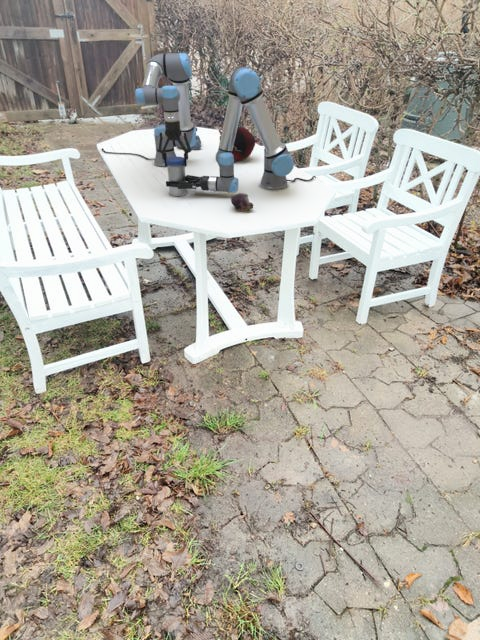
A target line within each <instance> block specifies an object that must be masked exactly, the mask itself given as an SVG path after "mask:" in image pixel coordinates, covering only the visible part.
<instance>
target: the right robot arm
mask: <svg viewBox="0 0 480 640" xmlns="http://www.w3.org/2000/svg"><path fill="white" fill-rule="evenodd" d="M227 92H228V93H227V95H228V101H227V106H226V110H225V115H224V118H223V119H224V120H223V125H222V130H221V132H222V134H220V136H221V139H220V138H219V144H218V149H217V152H216V153H215V161H216V163H217V165H218V167H219V176H216V175H202V176H197V175H190V174H185V176H186V182H178V181H177V182H173V181H169V180H166V181H165V187H168V188H169V187H178V189H187V190H197V188H201V189H200V190H202V191H204V192H205V191H207V192H208V191H210V192H214V193H216V192H223V193H236V192H237V191H238V190H239V183H240V182H239V178H238V177H236V176H235V161H234V156H233V154H232V150H233V145H234V141H235V137H236V132H237V128H238V127H239V123H240V120H241V119H240V118H241V114H242V110H243V107H246V109H247V111H248V114H249V116H250V117H251V118H250V119H251V120H252V123H253V125H254V127H255V129H256V131H257V134H258V136H259V138H260V140H261V142H262V143H261V144H262V145H263V147H264V149H263V151H264V152H263V155H264V156H263V158H264V159H263V173H262V177H261V179H260V187H261V188H263V189H265V190H270V191H277V190H283V189H286V188H288V182H291V183H294V182H295V181H296V180H300V181H304V182H310V181H312V180H313V179H317V176H316V175H313V176H312V177H311V178H310V179H305V178H302V177H301V178H300V177H295V178H293V180H292V179H287V176H288V175H289V174H291V172H292V171H293V169H294V167H295V162H294V159H293V157H292V156H291V155H290V152H289V150H288V148H287V143H283V142H282V141H281V139H280V136H279V134H278V132H277V128H276V127H275V125H274V122H273V120H272V117H271V115H270V113H269V110H268V107H267V106H266V103H265V101H264V99H263V95H264V91H263V88H262V85H261V80H260V77H259V76H258V74H257V72H256V71H255V70H253V69H251V68H249V67H248V66H244V65H243V66H238V67H236V68H235V69H234V70H233V71H232V73H231V74H230V79H229V86H228V91H227ZM312 235H313V236H314V235H315V232H313V233H312Z"/></svg>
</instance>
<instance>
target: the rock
mask: <svg viewBox="0 0 480 640" xmlns="http://www.w3.org/2000/svg"><path fill="white" fill-rule="evenodd" d="M230 201H231V205H233V206H234V209H235V210H237V211H250V210H253V209H254V204H253V202H250V200H249V195H248V194H247V193H245V192H238V193H236V194H234V195H232V196H231V197H230Z"/></svg>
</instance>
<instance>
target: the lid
mask: <svg viewBox="0 0 480 640" xmlns="http://www.w3.org/2000/svg"><path fill="white" fill-rule="evenodd" d="M166 164H167V165H171V166H178V165H183V164H185V163H184V156H176V157H169V158H167V159H166Z"/></svg>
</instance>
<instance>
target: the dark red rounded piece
mask: <svg viewBox="0 0 480 640" xmlns="http://www.w3.org/2000/svg"><path fill="white" fill-rule="evenodd" d="M218 133H219V135H220V136H219V140H220V139H221V134H222V130H220V129H218ZM256 142H257V141H256V137H255V135H254V134H253V133H251V131H249V130H248V129H247V128H246V127H243V126H238V128H237V132H236V137H235V141H234V145H233V150H232V154H233V156H234V162H242V161H244V160H246V159H248V158H249V157H250V156H251V155H252V153H253V151H254V149H255V147H256Z"/></svg>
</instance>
